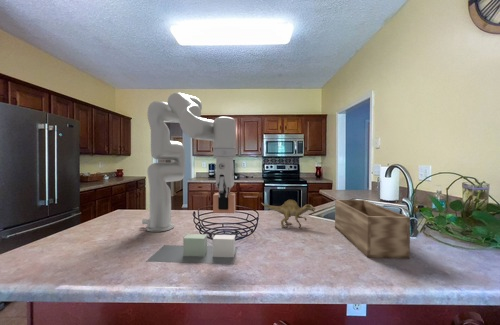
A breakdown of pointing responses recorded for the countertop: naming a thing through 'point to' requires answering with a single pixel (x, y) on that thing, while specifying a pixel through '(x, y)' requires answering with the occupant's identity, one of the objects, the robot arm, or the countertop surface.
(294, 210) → the dinosaur figurine
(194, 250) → the sage brick
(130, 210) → the countertop surface
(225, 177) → the robot arm
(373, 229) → the toy crate
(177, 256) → the baseplate
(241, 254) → the countertop surface
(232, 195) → the terracotta brick
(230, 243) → the offwhite brick
